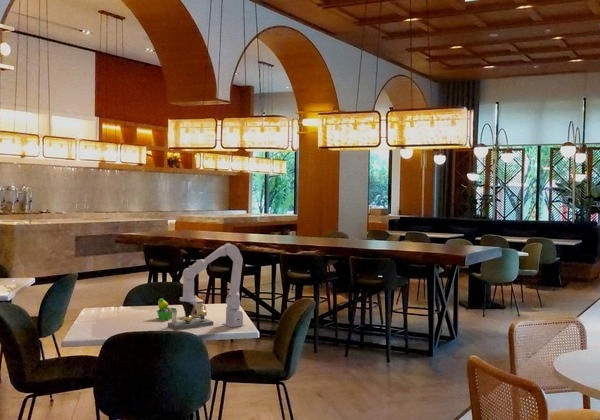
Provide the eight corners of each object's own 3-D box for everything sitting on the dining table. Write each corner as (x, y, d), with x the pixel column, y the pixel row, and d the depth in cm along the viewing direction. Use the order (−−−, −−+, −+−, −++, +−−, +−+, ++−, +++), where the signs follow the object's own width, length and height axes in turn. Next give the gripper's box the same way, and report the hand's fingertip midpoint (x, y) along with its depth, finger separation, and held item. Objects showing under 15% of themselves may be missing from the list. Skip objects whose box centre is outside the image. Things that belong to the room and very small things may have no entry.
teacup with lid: (183, 316, 380) (184, 296, 380) (193, 314, 388) (194, 294, 388) (200, 319, 375) (201, 298, 374) (210, 316, 383) (210, 296, 382)
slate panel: (213, 325, 359) (213, 321, 359) (177, 329, 345) (177, 326, 345) (203, 321, 367) (203, 318, 367) (167, 326, 353) (167, 322, 353)
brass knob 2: (208, 319, 359) (208, 311, 359) (201, 320, 356) (201, 311, 356) (203, 317, 362) (203, 309, 362) (196, 318, 360) (196, 310, 359)
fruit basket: (168, 321, 367) (169, 300, 366) (153, 320, 368) (154, 299, 368) (176, 317, 378) (177, 297, 377) (162, 316, 380) (162, 296, 379)
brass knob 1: (193, 324, 353) (193, 316, 353) (186, 325, 350) (186, 317, 350) (189, 323, 357) (189, 315, 356) (182, 324, 354) (182, 316, 354)
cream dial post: (177, 323, 351) (178, 310, 351) (173, 324, 350) (173, 311, 349) (175, 322, 354) (175, 310, 353) (170, 323, 352) (170, 310, 352)
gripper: (174, 289, 356) (174, 314, 356) (188, 293, 345) (188, 319, 345) (186, 288, 360) (185, 313, 361) (200, 292, 349) (200, 318, 350)
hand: (187, 316), depth 353 cm, fingers closed, pressing on brass knob 1
